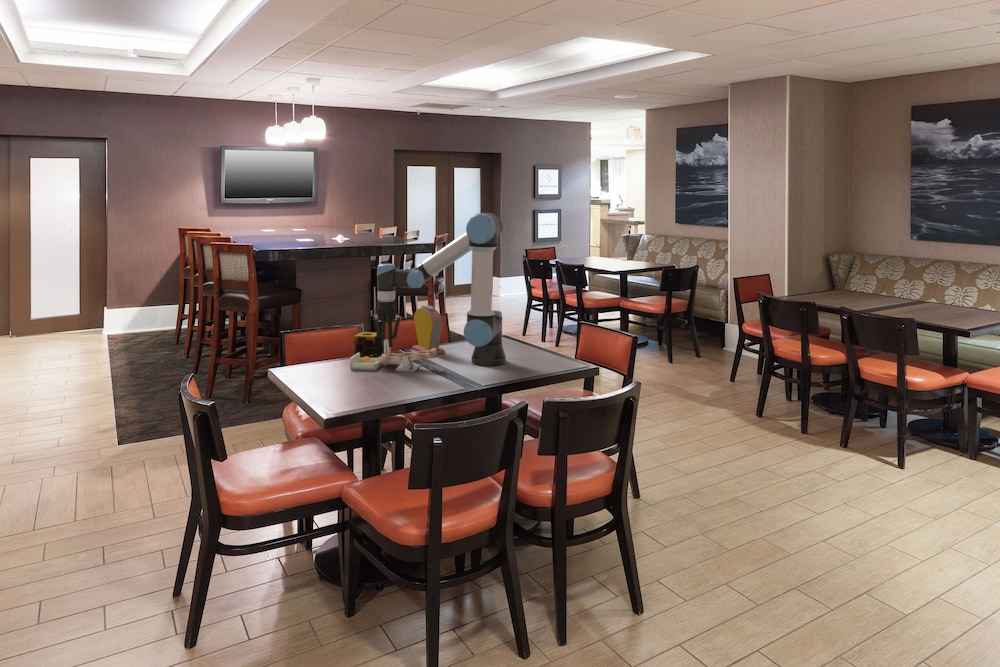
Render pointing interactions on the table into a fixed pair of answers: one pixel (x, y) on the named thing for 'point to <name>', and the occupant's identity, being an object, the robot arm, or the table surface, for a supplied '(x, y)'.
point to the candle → (368, 344)
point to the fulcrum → (407, 365)
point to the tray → (359, 365)
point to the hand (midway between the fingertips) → (387, 354)
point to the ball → (366, 360)
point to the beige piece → (412, 355)
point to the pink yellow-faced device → (428, 329)
